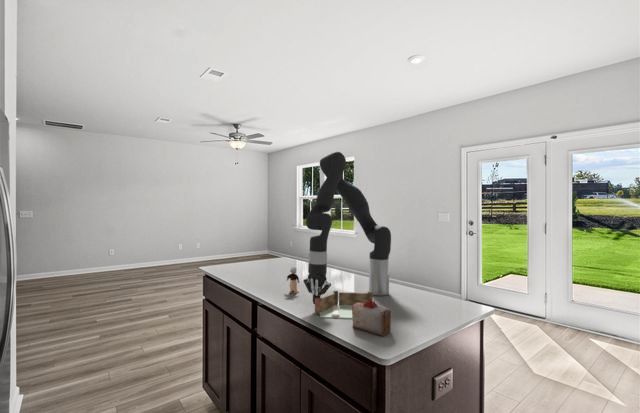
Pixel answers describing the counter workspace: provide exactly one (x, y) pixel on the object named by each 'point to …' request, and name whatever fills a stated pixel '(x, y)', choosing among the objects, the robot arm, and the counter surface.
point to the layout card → (337, 312)
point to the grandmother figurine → (293, 280)
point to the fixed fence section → (354, 298)
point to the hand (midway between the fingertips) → (316, 304)
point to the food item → (371, 318)
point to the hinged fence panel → (326, 302)
